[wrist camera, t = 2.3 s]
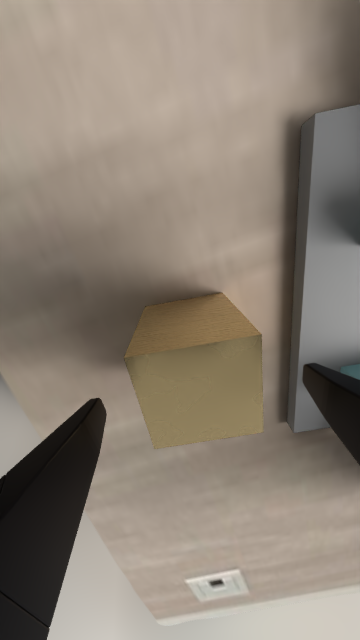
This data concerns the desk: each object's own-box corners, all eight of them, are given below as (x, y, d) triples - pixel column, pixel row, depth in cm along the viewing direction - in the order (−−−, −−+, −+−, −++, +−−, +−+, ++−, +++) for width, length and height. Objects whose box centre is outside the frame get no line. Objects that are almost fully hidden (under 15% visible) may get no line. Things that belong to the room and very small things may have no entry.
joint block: (222, 292, 12) (261, 334, 7) (228, 358, 14) (263, 432, 9) (145, 306, 13) (123, 358, 7) (161, 369, 15) (154, 448, 9)
